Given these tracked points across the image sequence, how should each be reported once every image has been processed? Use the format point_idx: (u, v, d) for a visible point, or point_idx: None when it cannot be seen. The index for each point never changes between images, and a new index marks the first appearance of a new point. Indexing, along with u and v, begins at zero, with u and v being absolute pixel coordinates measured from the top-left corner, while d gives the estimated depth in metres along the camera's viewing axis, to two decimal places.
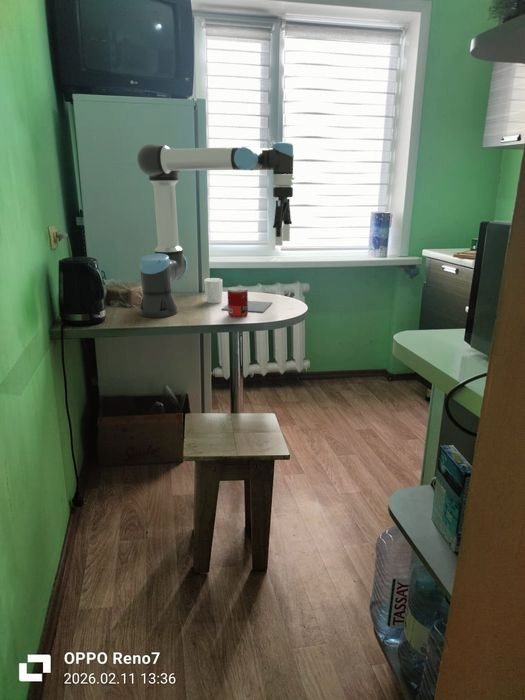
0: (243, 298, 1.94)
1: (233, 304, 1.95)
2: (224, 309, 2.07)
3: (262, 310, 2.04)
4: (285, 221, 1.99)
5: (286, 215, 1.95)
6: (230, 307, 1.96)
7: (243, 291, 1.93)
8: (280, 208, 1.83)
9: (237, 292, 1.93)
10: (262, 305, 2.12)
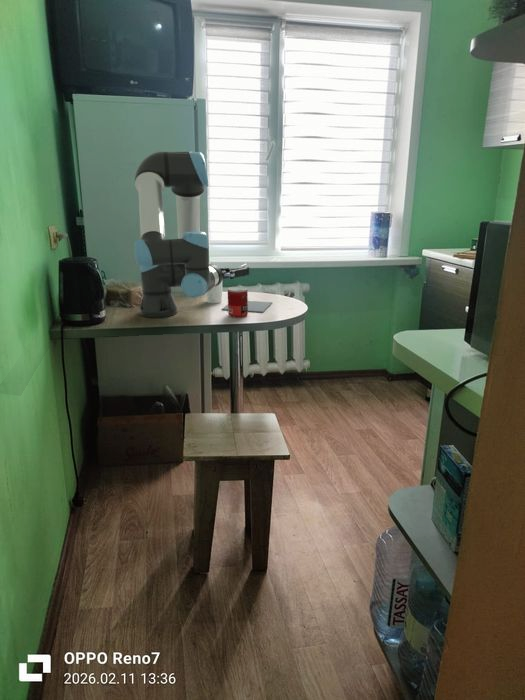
0: (243, 297, 1.94)
1: (233, 304, 1.95)
2: (224, 309, 2.07)
3: (262, 310, 2.04)
4: None
5: None
6: (230, 307, 1.96)
7: (243, 291, 1.93)
8: None
9: (237, 292, 1.93)
10: (262, 305, 2.12)
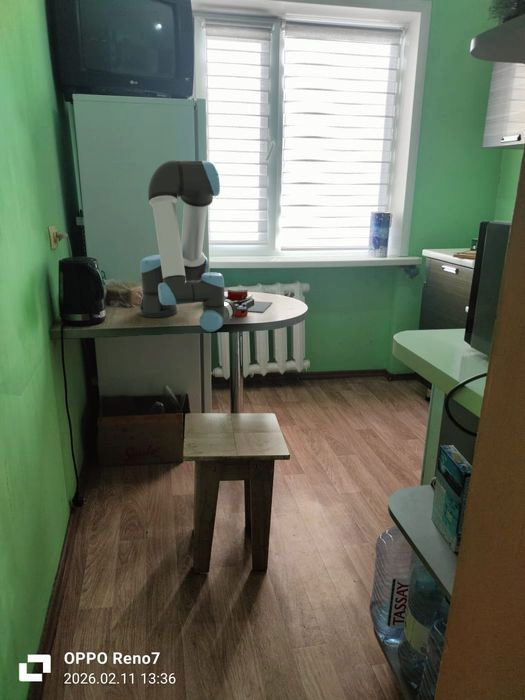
0: (243, 297, 1.94)
1: None
2: None
3: (262, 310, 2.04)
4: (247, 300, 1.94)
5: None
6: None
7: (243, 291, 1.93)
8: None
9: (237, 292, 1.93)
10: (262, 305, 2.12)
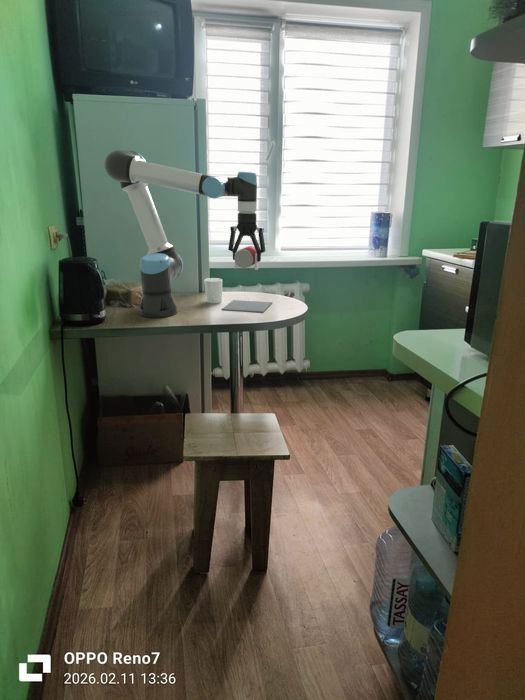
0: None
1: (249, 247, 2.04)
2: (224, 309, 2.07)
3: (262, 310, 2.04)
4: None
5: (240, 241, 2.04)
6: (253, 249, 2.05)
7: (236, 252, 2.01)
8: (262, 235, 2.00)
9: (241, 249, 2.00)
10: (262, 305, 2.12)
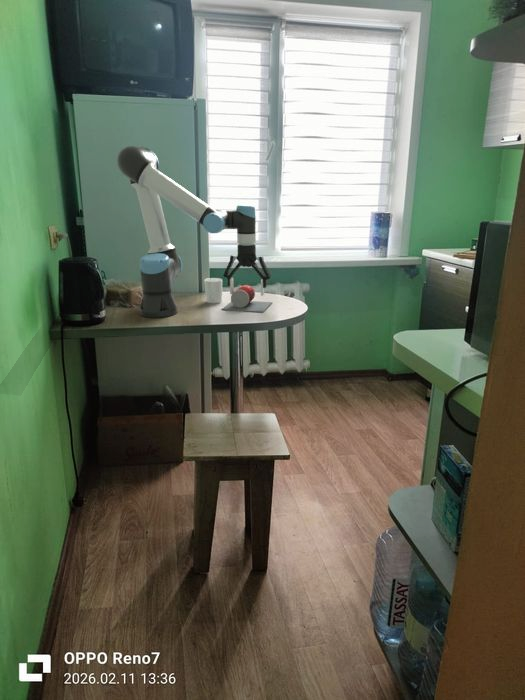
0: None
1: (240, 287, 2.12)
2: (224, 309, 2.07)
3: (262, 310, 2.04)
4: None
5: (237, 269, 2.09)
6: (244, 286, 2.12)
7: (231, 297, 2.09)
8: None
9: (233, 292, 2.08)
10: (262, 305, 2.12)
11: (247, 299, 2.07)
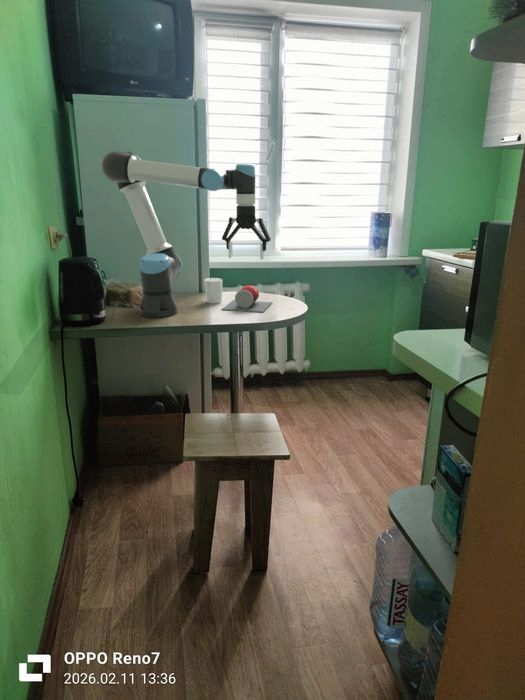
0: None
1: (248, 287, 2.11)
2: (224, 309, 2.07)
3: (262, 310, 2.04)
4: None
5: (236, 232, 2.04)
6: (252, 288, 2.12)
7: None
8: (263, 224, 2.00)
9: (241, 290, 2.07)
10: (262, 305, 2.12)
11: (250, 303, 2.07)
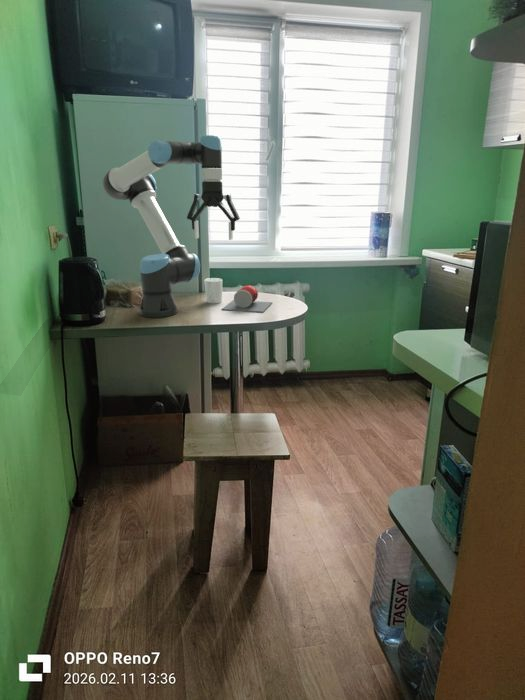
0: None
1: (246, 287, 2.11)
2: (224, 309, 2.07)
3: (262, 310, 2.04)
4: None
5: (202, 211, 1.89)
6: (250, 287, 2.12)
7: (235, 294, 2.08)
8: (231, 202, 1.85)
9: (239, 290, 2.07)
10: (262, 305, 2.12)
11: (250, 302, 2.07)
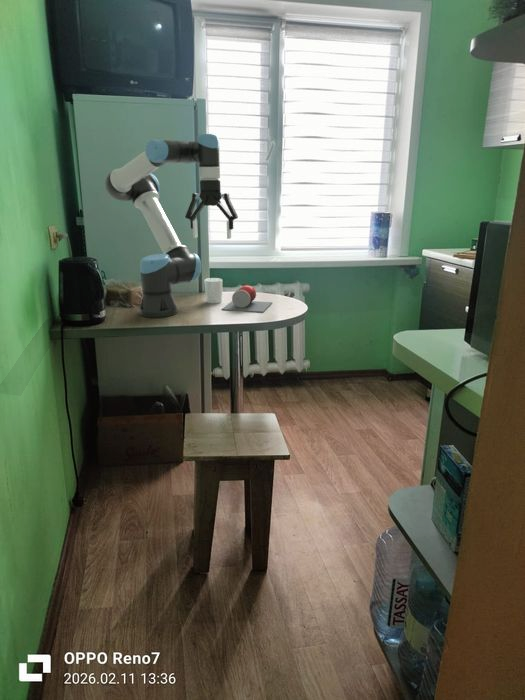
0: None
1: (242, 287, 2.11)
2: (224, 309, 2.07)
3: (262, 310, 2.04)
4: None
5: (200, 210, 1.88)
6: (247, 286, 2.12)
7: (232, 296, 2.08)
8: (229, 200, 1.84)
9: None
10: (262, 305, 2.12)
11: (248, 300, 2.07)
